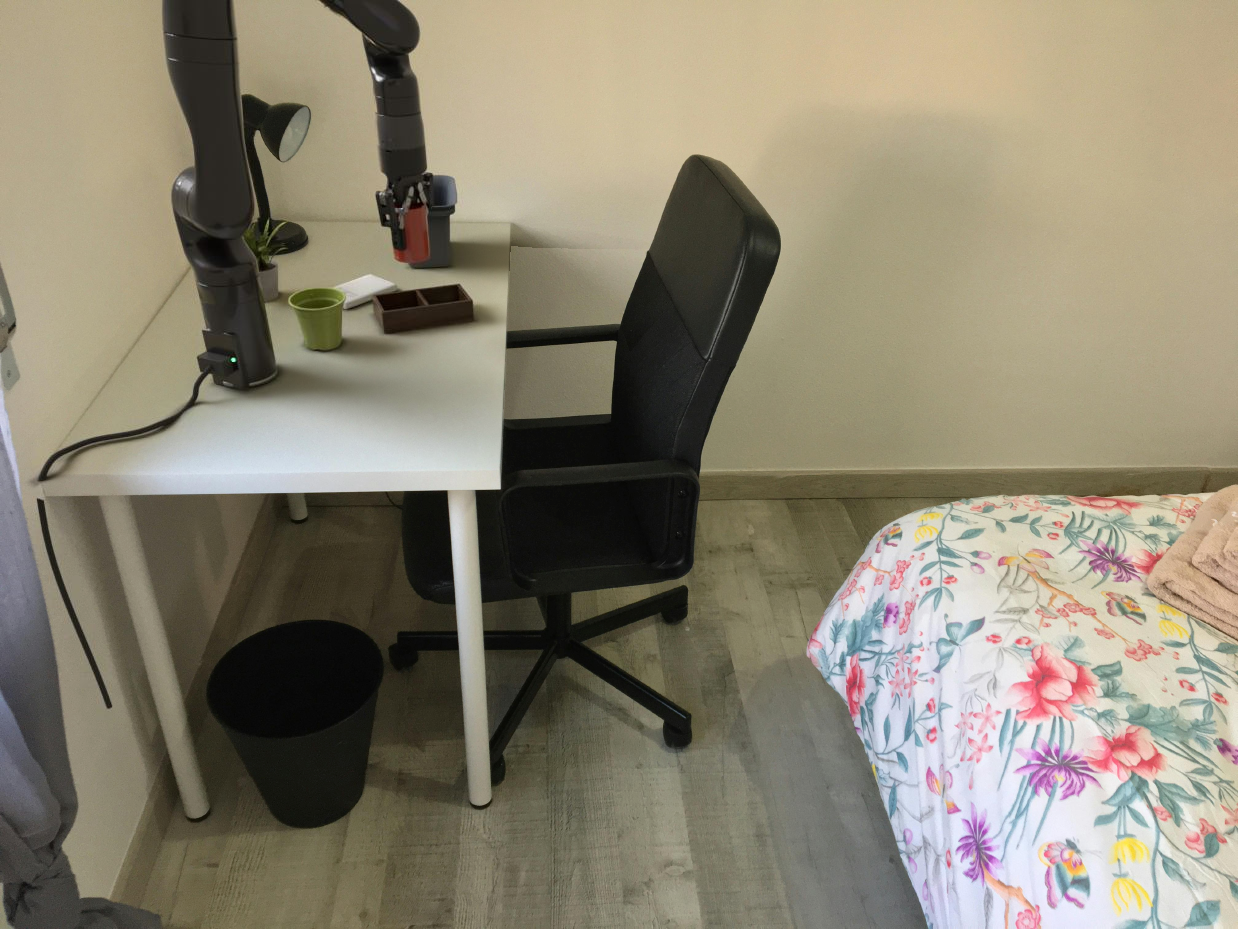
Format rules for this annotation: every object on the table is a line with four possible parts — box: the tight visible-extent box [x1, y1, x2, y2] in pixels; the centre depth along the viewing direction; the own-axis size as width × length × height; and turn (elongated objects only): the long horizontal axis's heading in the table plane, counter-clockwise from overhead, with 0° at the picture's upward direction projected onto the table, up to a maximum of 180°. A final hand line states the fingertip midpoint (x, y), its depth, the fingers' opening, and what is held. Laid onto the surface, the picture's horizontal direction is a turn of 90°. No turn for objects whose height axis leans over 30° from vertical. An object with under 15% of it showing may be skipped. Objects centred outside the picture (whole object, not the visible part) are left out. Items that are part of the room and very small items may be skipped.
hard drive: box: [332, 273, 398, 310], centre depth 178 cm, size 2×8×12 cm
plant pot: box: [288, 286, 346, 351], centre depth 157 cm, size 9×9×9 cm
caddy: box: [371, 283, 475, 334], centre depth 169 cm, size 9×17×4 cm, turn 115°
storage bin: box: [407, 174, 458, 269], centre depth 194 cm, size 21×16×14 cm
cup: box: [392, 202, 430, 264], centre depth 152 cm, size 6×6×9 cm
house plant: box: [243, 212, 289, 302], centre depth 171 cm, size 14×14×16 cm
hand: (410, 242), depth 153 cm, fingers closed on cup, 6 cm apart
